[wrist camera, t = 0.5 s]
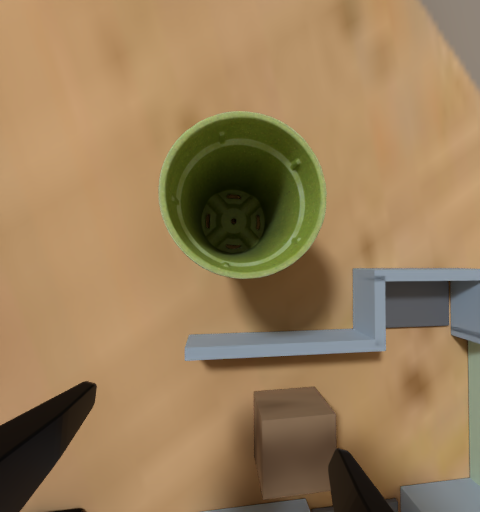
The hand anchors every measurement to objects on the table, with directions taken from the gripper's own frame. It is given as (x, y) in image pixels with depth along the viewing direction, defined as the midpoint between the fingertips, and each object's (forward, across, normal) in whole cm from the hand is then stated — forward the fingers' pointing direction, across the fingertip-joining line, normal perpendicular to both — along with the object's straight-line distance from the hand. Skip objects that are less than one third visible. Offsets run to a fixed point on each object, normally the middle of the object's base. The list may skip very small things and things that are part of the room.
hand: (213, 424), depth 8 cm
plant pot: (+15, +2, -6) cm, 16 cm away
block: (+11, -7, +11) cm, 17 cm away
